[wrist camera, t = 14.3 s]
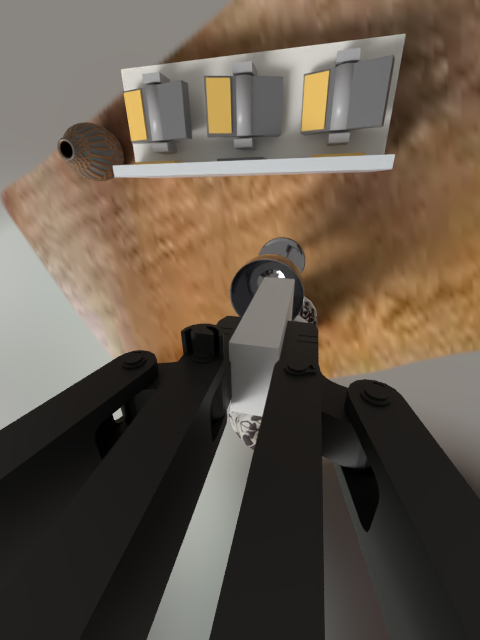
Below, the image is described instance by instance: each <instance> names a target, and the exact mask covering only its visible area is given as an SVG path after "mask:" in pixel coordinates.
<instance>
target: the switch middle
mask: <svg viewBox="0 0 480 640" xmlns="http://www.w3.org/2000/svg"><path fill="white" fill-rule="evenodd" d="M204 90H205V106H206V123H207V137H240V138H245V137H279V136H280V135H281V122H282V96H283V76H251V75H237V76H204Z"/></svg>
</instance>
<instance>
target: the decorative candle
mask: <svg viewBox="0 0 480 640" xmlns="http://www.w3.org/2000/svg"><path fill="white" fill-rule="evenodd" d="M293 321H296V322H306V323H313V324H314V325H315V326H316V328H317V326H318V322H317V321H318V318H317V313H316V309H315V307H314V305H313V303H312V301H310V300H309V299H308V298H306V297H305V296H304V303H303V306H302V309H301V311H300V313H299V314H298V316H297V317H296V318H295V319H294V320H293ZM318 359H319V358H318ZM318 366H319V365H318ZM319 369H320V367H319ZM229 417H230V421H231V425H232V428H233V429H234V430H235V432H236V433H237V434H238V436H239V437H240V438H241V439H242V440H243V441H244V442H245V444H246V445H247V446H249V447H250V448H252V449H253V450H254V449H255V445H256V440H257V436H258V432H259V428H260V423H261V419H262V417H261V416H255V415H250V414H244V413H238V412H233V411H231V409H230V413H229Z"/></svg>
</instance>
